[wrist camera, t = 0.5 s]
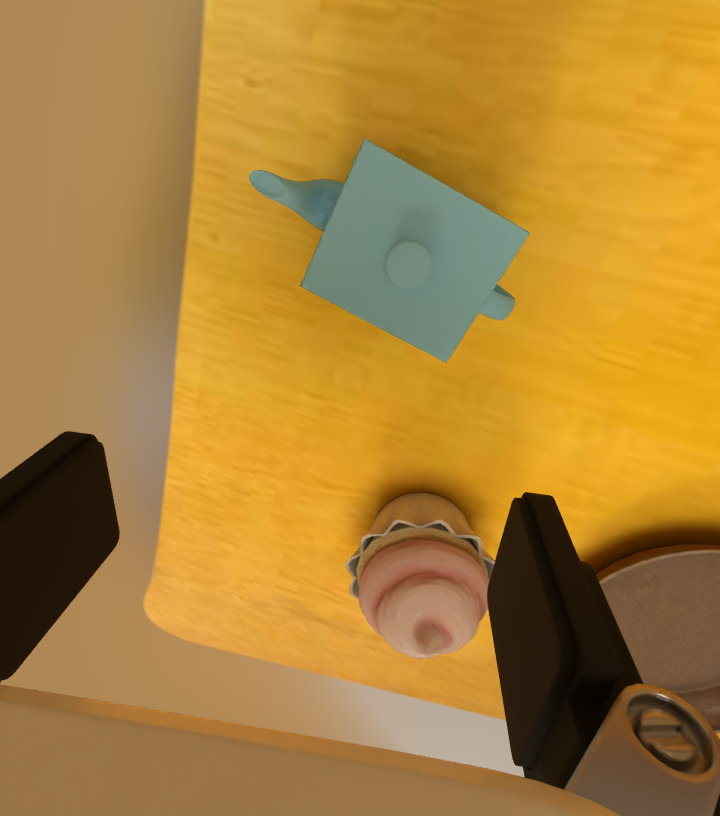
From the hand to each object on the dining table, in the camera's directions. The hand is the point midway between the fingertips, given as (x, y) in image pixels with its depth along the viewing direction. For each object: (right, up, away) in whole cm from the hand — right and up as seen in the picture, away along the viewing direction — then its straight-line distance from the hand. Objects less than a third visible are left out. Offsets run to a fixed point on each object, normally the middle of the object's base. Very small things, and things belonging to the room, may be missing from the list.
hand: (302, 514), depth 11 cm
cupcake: (+6, -6, +22) cm, 24 cm away
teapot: (+3, +12, +14) cm, 19 cm away
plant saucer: (+24, -13, +24) cm, 36 cm away
